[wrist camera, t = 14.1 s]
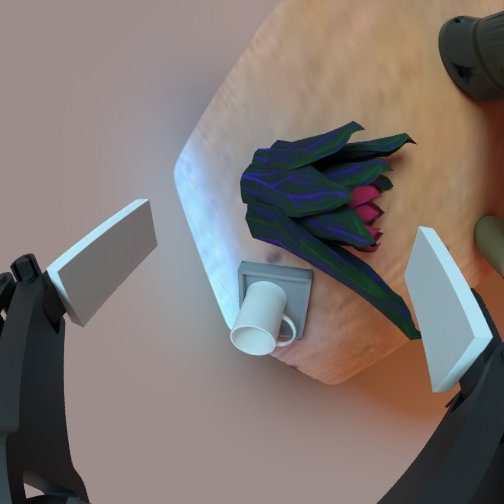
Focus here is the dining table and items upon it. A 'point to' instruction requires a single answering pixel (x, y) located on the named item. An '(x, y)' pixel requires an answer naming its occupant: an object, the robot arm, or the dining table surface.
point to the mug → (261, 319)
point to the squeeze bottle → (491, 241)
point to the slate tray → (290, 281)
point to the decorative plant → (327, 208)
